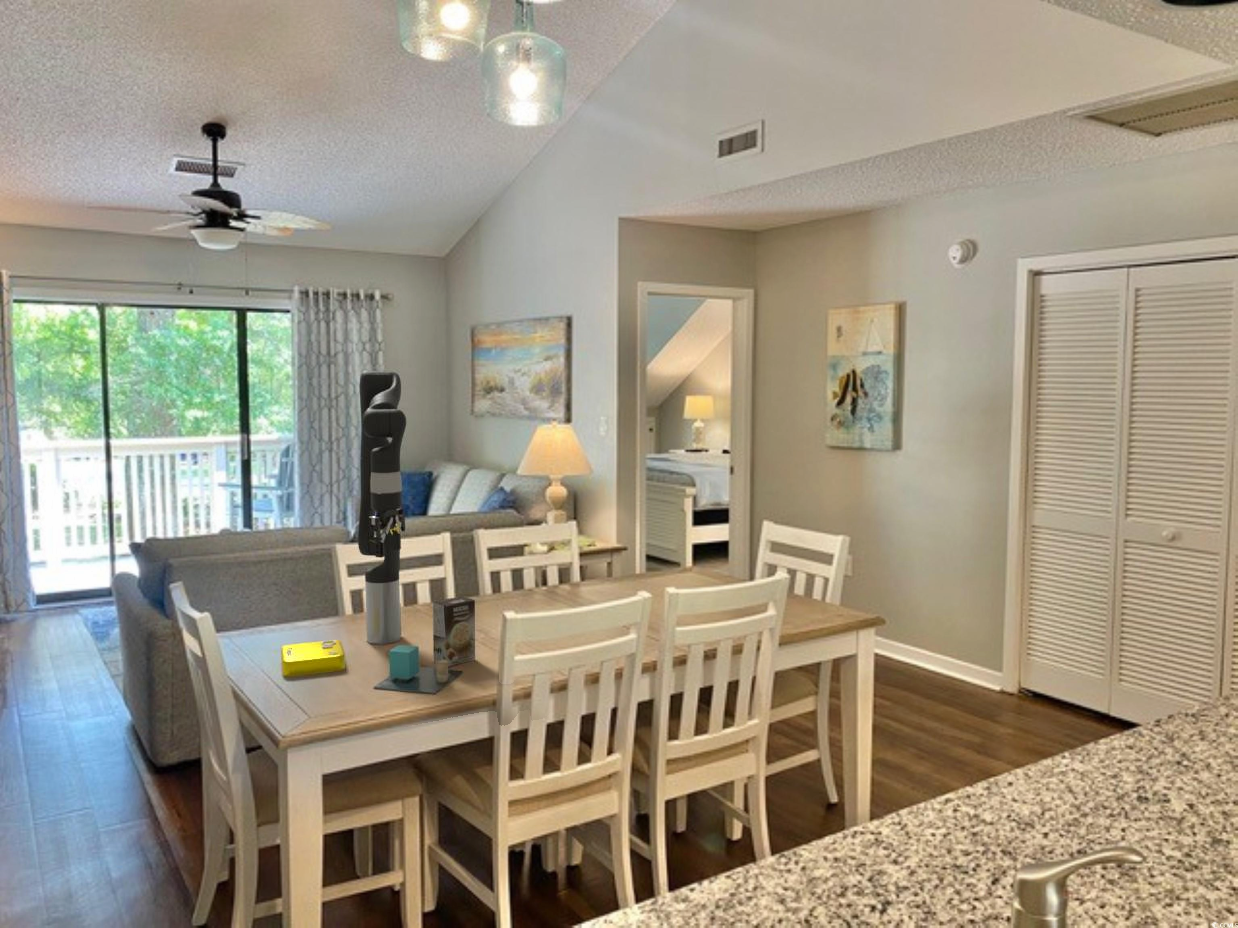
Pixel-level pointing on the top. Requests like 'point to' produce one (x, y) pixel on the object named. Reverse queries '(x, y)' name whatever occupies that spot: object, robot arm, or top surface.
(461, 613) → the coffee box
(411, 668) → the teal toy cube
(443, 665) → the birch peg
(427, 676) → the grey square base plate
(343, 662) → the element tile
